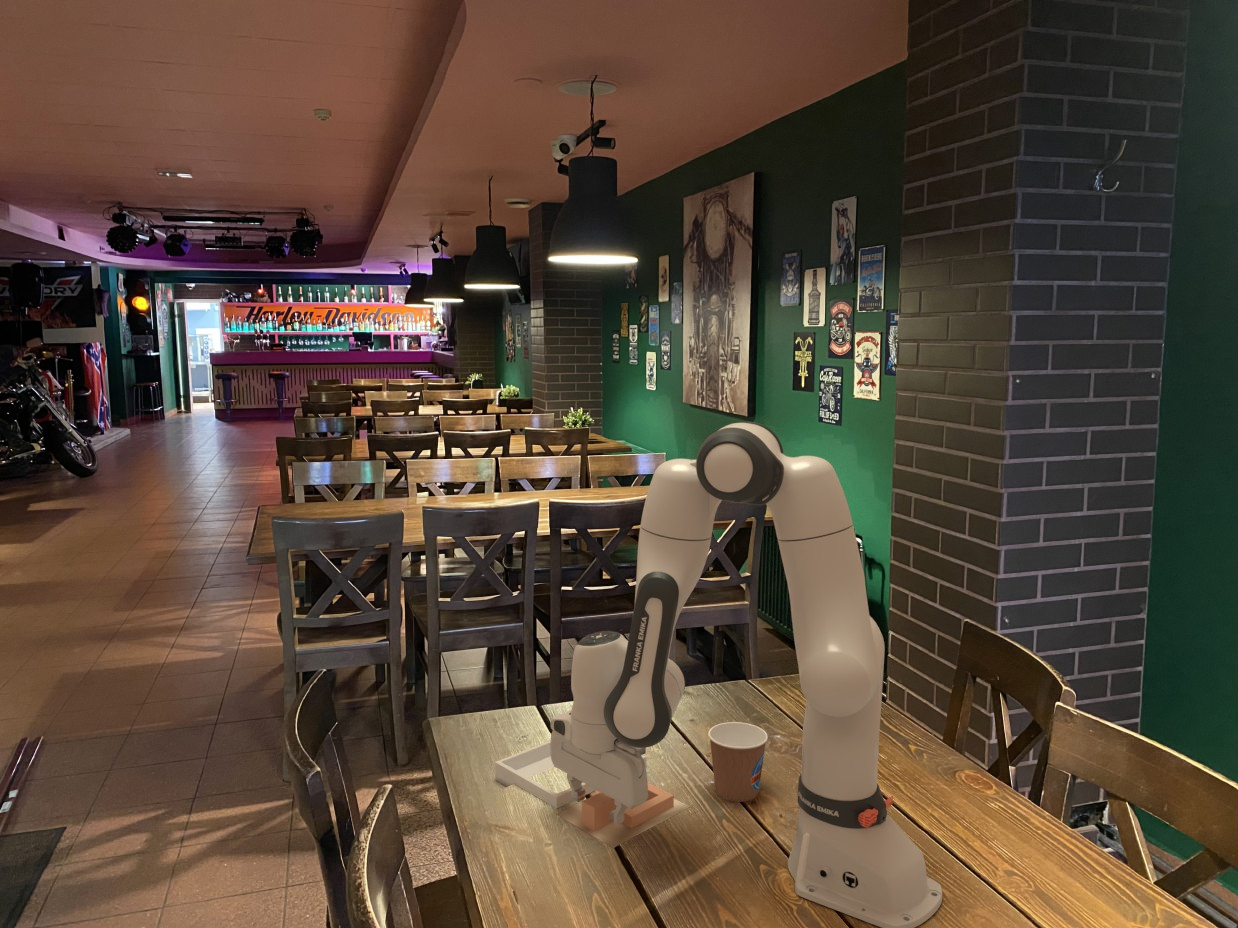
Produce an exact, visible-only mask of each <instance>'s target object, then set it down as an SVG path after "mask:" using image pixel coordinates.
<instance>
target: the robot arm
mask: <svg viewBox="0 0 1238 928" xmlns="http://www.w3.org/2000/svg"><path fill="white" fill-rule="evenodd" d="M647 490H648V491H647V493H646V496H645V501H644V505H643V510H642V515H641V520H640V528H639V532H638V533H639V534H638V544H637V546H638V547H637V559H636V560H637V562H636V576H635V577H636V580H635V592H634V593H635V595H634V607H633V613H632V619H631V626H630V630H629V634H628V635H629V636H628V639H626V638H625V636H624V635H623V634H621V633H620V632H618V631H614V630H613V631H612V630H602V631H597V632H593V633H589V634H587V635H585V636H584V637H583V638H581V639H580V640H579V641H578V642H577V643H576V645H575V646H574V650H573V656H572V662H571V677H570V678H571V680H570V681H571V682H570V683H571V685H570V689H571V693H572V697H573V702H572V706H571V708H570V709H571V710H570V711H566V712H564V713H561V714H558V715H556V716H554V717H552V718H550V729H551V730H552V732H551V734H550V740H551V742H550V754H551V760H552V763H553V765H554V766H555V767H554V768H557V769H558V770H561V771H562V772H563V773H566V779H567V782H568V784H569V787H570V788H571V789H572V799H574V801H576V802H578V803H580V802H582V801H583V800H586V795H585V789H584V788H582V784H581V783H585V784H587V785H589V786H590V787H592V788H594V789H596V791H600V792H601V793H603V794H605V795H607V796H608V797H610V798H612V799H614V800H615V805H616V806H617V808H616V809H615V810H613V811H611V812H610V816H611V818H610V821H612V822H614V823H615V824H617V825H618V824H620V823H622V822H623V821H624V812H625V810H626V809H627V807H628V808H634V807H636V806H638V805H640V804H642V803H644V802H645V801H646V799H647V798H648V783H649V782H648V774H647V765H646V766H645V763H644V759H643V758H642V756H641V755H640V753H639V751H638V749H636V748H635V747H637V748H650V747H653V746H656V745H658V744H659V743H660V742H662V740H664V739H665V738H666V737H667V734H668V732H669V729H670V726H671V722H672V719H673V718H674V715H675V712H676V711H677V709H678V706H679V704H680V702H681V701H682V698H683V695H684V694H685V690H686V678H685V676H684V673H683V670H682V669H681V668H680V666H679V665H678V664H677V662H675V661H674V660H673V659H672V658H670V652H671V647H672V641H673V634H674V631H675V628H676V624H677V622H678V619H679V616H680V614H681V612H682V611H683V608H684V606H685V604H686V603H687V600H688V598H689V597H690V595H692V592H693V591H694V589H695V587H696V586H697V583H699V580H700V578H701V576H702V573H703V571H704V567H705V565H706V563H707V560H708V556H709V552H710V548H711V547H710V546H711V542H712V537H713V529H714V522H715V516H716V513H717V511H718V507H719V505H720V504H721V502H722V501H723V502H728V503H734V504H745V505H755V506H764V505H766V507H767V508H768V510H769V512H770V514H771V516H772V520H773V524H774V529H775V534H776V538H777V542H778V546H779V551H780V556H781V560H782V565H783V569H784V575H785V580H786V582H787V584H786V585H787V589H788V594H789V603H790V612H791V622H792V631H793V639H794V646H795V653H796V659H797V664H798V667H797V668H798V675H799V681H800V688H801V691H802V695H803V697H804V698H805V699H806V700H805V710H804V718H803V724H802V725H803V726H802V742H801V743H802V744H801V745H802V747H801V749H802V750H801V773H800V774H799V776H798V783H797V784H798V785H797V786H798V787H797V803H798V807H799V808H798V809H799V812H798V817H797V825H796V832H795V838H794V840H793V841H794V842H793V844H792V848H791V852H790V855H789V857H788V859H787V867H788V871H789V873H790V875H791V876H792V878H793V880H794V891H795V894H796V895H797V896H799V897H801V898H804V899H806V900H809V901H811V902H813V903H816V904H819V905H822V906H825V907H827V908H829V909H832V910H834V911H838V912H840V913H843V914H845V915H848V916H849V917H853V918H856V919H859V920H860V921H864V922H865V923H868V924H871V925H874V926H877V927H879V928H916V927H919V926H920V925H922V924H923V923H924V922H926V921H927V920H928V919H930V918H932V917H933V915H935V913H937V911H938V909H940V906H941V905H942V901H943V887H942V885H941V884H940V883H939V882H937V881H936V880H934V879H932V878H931V877H929V876H928V875H927V867H926V861H925V857H924V854H923V852H922V850H921V849H920V847H919V846H917V845H916V844H915V842H914V841H913V840H912V839H911V838H910V837H909V836H908V834H906V832H904V831H903V829H901V827H900V826H899V825H898V824H897V822H896V821H895V820H893V818H892V817H891V816H890V815H889V814H888V808H890V807H891V806H892V805H893V804H894V802H893V799H894V796H890V797H888V798H887V799H886V800H884V797H883V793H882V790H881V787H880V785H879V783H878V772H879V771H878V770H879V769H878V768H879V746H880V732H881V731H880V729H881V728H880V727H881V715H882V714H881V713H882V698H883V685H884V684H883V682H884V681H883V680H884V664H885V650H886V649H885V641H884V637H883V634H882V632H881V630H880V627H879V626H878V624H877V622H876V621H875V620H874V618H873V617H872V616H871V615H870V610H869V604H868V596H867V590H866V589H867V588H866V577H865V573H864V568H863V563H862V560H861V559H862V558H861V554H860V550H859V544H858V541H857V540H858V539H857V537H856V531H855V527H854V522H853V519H852V518H853V517H852V515H851V514H852V513H851V511H850V507H849V504H848V501H847V498H846V495H845V492H844V488H843V487H842V484H841V482H840V478H839V477H838V474H837V473H836V470H835V468H834V467H833V465H832V464H831V463H830V462H829V461H828V460H826V459H825V458H822V457H820V456H816V455H815V456H814V455H799V456H794V457H793V456H788V455H785V454H784V450H783V445H782V443H781V440H780V438H779V437H778V436H777V434H776V433H775V432H774V431H773V430H771V428H769V427H768V426H765V425H764V424H762V423H758V422H754V421H753V422H752V421H746V422H735V423H730V424H727V425H725V426H723V427H721V428H720V429H718V430H717V431H715V432H713V433H711V434H709V435H708V437H706V439H705V440H704V441H703V442H702V444H701V446H700V447H699V448H698V452H697V455H696V458H695V459H690V458H673V459H669V460H666V461H664V462H662V463H660V465H658V466H657V468H655V470H654V473H653V475H652V478H651V480H650V484H649V487H648V489H647Z"/></svg>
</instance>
